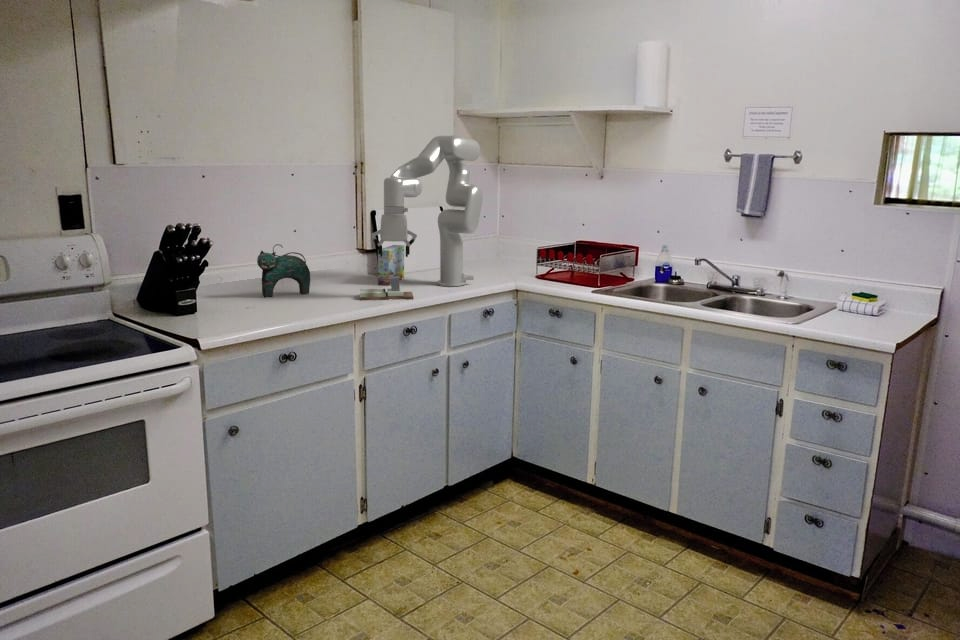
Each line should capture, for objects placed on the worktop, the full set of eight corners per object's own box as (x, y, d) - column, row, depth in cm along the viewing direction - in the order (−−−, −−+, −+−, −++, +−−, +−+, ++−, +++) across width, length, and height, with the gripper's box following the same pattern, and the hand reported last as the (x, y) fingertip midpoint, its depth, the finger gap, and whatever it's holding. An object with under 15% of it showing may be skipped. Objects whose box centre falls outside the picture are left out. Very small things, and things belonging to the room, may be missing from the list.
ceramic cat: (261, 298, 275) (258, 245, 270) (256, 296, 280) (253, 244, 276) (312, 294, 285) (310, 243, 280) (307, 291, 290) (305, 241, 286)
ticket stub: (402, 291, 285) (402, 275, 284) (403, 295, 277) (403, 279, 275) (387, 292, 284) (387, 275, 283) (387, 296, 276) (387, 279, 274)
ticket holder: (411, 294, 287) (411, 287, 286) (413, 299, 276) (413, 292, 276) (360, 295, 284) (360, 288, 284) (360, 300, 274) (359, 293, 273)
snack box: (390, 285, 306) (389, 250, 303) (377, 285, 307) (376, 249, 304) (405, 278, 326) (404, 244, 323) (393, 277, 327) (392, 244, 324)
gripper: (416, 210, 279) (416, 255, 282) (370, 210, 276) (371, 255, 279) (417, 212, 271) (417, 257, 275) (370, 211, 269) (371, 257, 272)
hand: (394, 256), depth 277 cm, fingers open, 9 cm apart
